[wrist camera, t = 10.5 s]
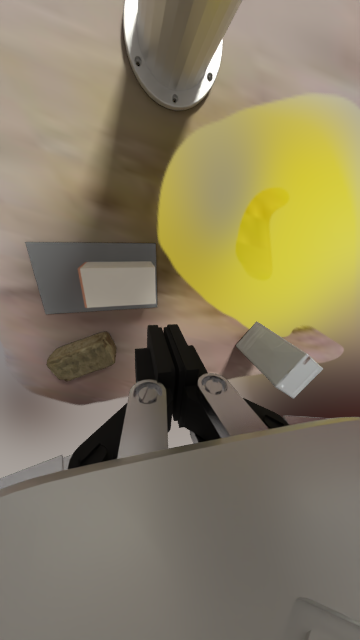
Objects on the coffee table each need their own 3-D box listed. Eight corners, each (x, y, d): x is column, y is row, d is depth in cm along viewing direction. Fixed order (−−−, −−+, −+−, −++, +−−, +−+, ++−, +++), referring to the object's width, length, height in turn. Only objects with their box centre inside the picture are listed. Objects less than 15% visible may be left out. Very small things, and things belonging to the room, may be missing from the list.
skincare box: (249, 355, 52) (293, 402, 38) (232, 343, 49) (274, 389, 35) (271, 331, 50) (327, 371, 37) (255, 317, 47) (309, 355, 33)
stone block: (51, 348, 39) (41, 364, 34) (107, 327, 40) (105, 340, 35) (67, 369, 41) (60, 386, 37) (119, 349, 42) (119, 363, 38)
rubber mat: (26, 242, 30) (25, 242, 30) (155, 243, 35) (155, 243, 35) (46, 313, 35) (45, 314, 35) (157, 306, 40) (157, 307, 40)
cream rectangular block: (77, 268, 28) (155, 267, 30) (85, 261, 33) (150, 261, 36) (85, 307, 30) (155, 303, 33) (91, 295, 36) (151, 293, 38)
